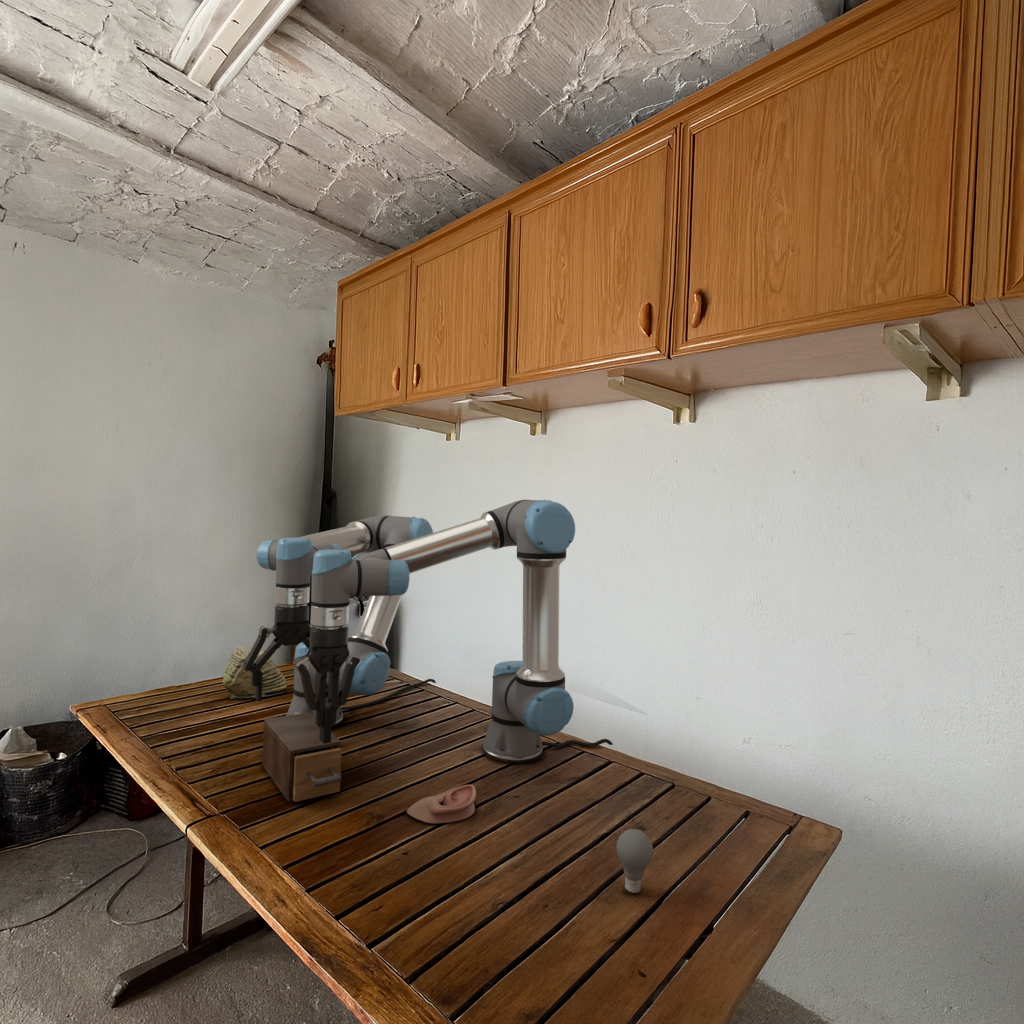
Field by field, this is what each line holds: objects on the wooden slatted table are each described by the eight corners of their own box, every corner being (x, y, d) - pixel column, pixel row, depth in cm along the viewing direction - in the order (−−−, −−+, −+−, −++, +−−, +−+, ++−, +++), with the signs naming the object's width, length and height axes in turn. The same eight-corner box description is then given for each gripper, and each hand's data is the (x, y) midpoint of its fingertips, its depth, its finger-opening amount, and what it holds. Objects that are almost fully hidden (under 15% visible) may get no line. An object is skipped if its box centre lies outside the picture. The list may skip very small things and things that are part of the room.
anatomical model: (401, 799, 125) (421, 775, 137) (400, 819, 126) (420, 793, 137) (466, 808, 123) (481, 783, 134) (465, 829, 123) (480, 802, 134)
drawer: (350, 802, 130) (351, 759, 130) (303, 814, 124) (305, 769, 124) (310, 757, 151) (311, 720, 151) (268, 766, 145) (270, 727, 145)
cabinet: (338, 790, 137) (340, 741, 137) (288, 802, 131) (290, 750, 130) (308, 756, 154) (309, 711, 154) (262, 765, 148) (263, 719, 148)
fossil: (218, 695, 195) (220, 647, 195) (278, 685, 208) (279, 640, 207) (228, 703, 189) (230, 653, 188) (289, 692, 201) (290, 645, 201)
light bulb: (610, 879, 108) (613, 822, 108) (644, 879, 109) (647, 822, 109) (619, 902, 102) (622, 840, 102) (655, 901, 103) (658, 840, 103)
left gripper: (237, 610, 137) (234, 708, 137) (350, 604, 151) (346, 692, 151) (231, 605, 143) (228, 698, 143) (339, 599, 157) (336, 684, 157)
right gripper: (303, 632, 122) (298, 753, 122) (367, 626, 129) (362, 741, 130) (291, 624, 128) (287, 740, 128) (353, 620, 135) (349, 729, 136)
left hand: (289, 695), depth 147 cm, fingers open, 13 cm apart
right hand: (325, 740), depth 129 cm, fingers closed
